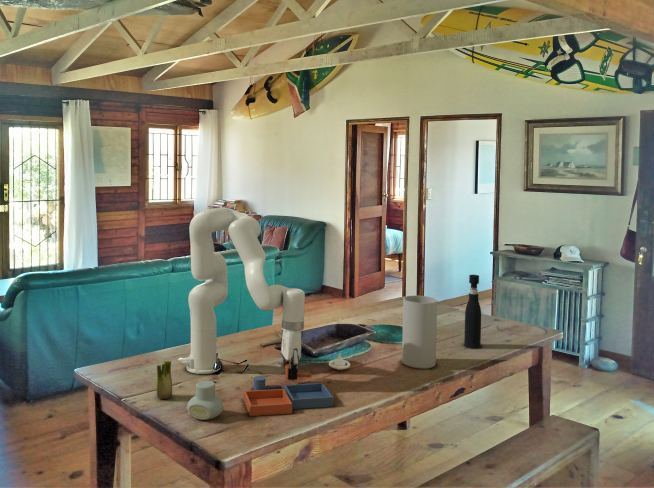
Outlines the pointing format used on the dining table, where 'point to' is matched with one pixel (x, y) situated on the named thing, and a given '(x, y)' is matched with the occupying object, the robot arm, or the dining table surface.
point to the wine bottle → (473, 316)
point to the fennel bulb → (164, 380)
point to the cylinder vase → (419, 331)
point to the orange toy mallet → (297, 374)
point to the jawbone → (274, 341)
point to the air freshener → (205, 402)
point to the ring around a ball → (339, 363)
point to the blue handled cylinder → (263, 384)
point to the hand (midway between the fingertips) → (290, 376)
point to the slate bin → (309, 395)
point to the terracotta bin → (267, 402)
